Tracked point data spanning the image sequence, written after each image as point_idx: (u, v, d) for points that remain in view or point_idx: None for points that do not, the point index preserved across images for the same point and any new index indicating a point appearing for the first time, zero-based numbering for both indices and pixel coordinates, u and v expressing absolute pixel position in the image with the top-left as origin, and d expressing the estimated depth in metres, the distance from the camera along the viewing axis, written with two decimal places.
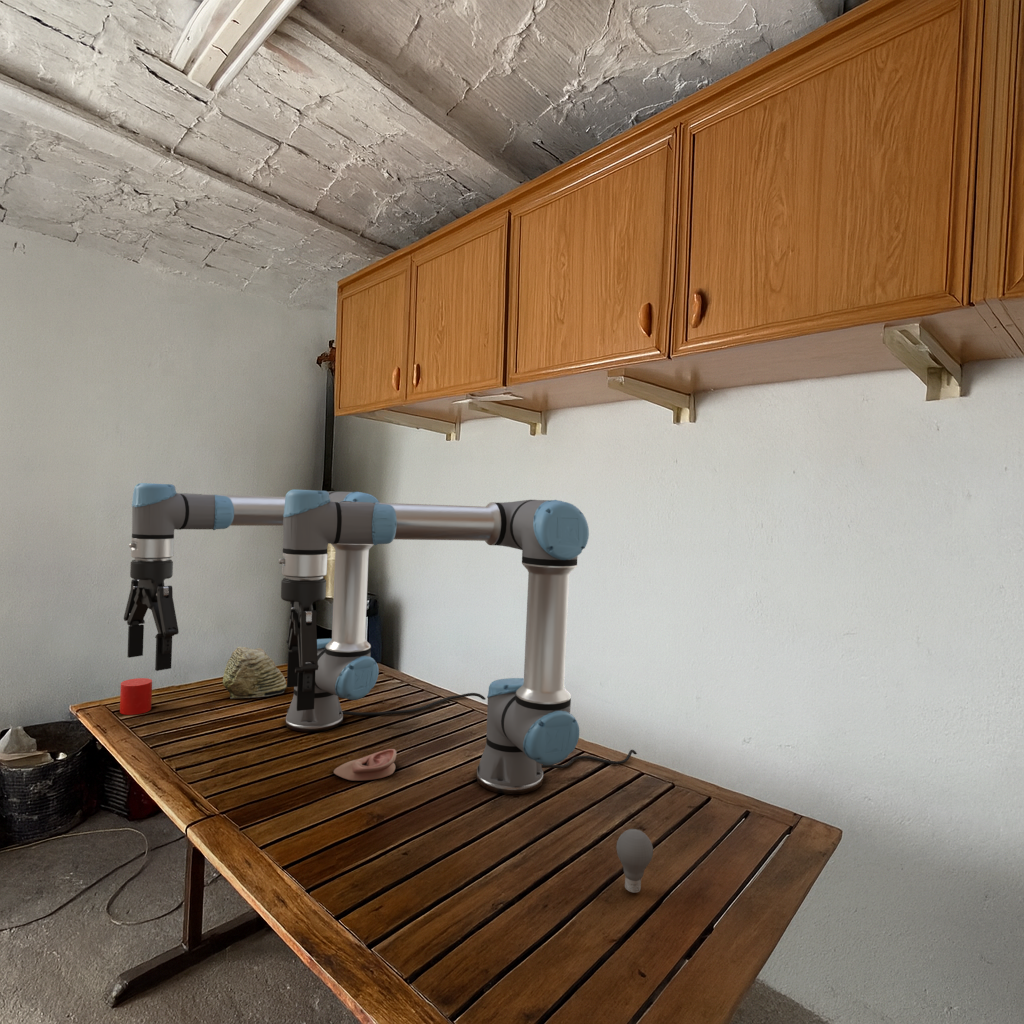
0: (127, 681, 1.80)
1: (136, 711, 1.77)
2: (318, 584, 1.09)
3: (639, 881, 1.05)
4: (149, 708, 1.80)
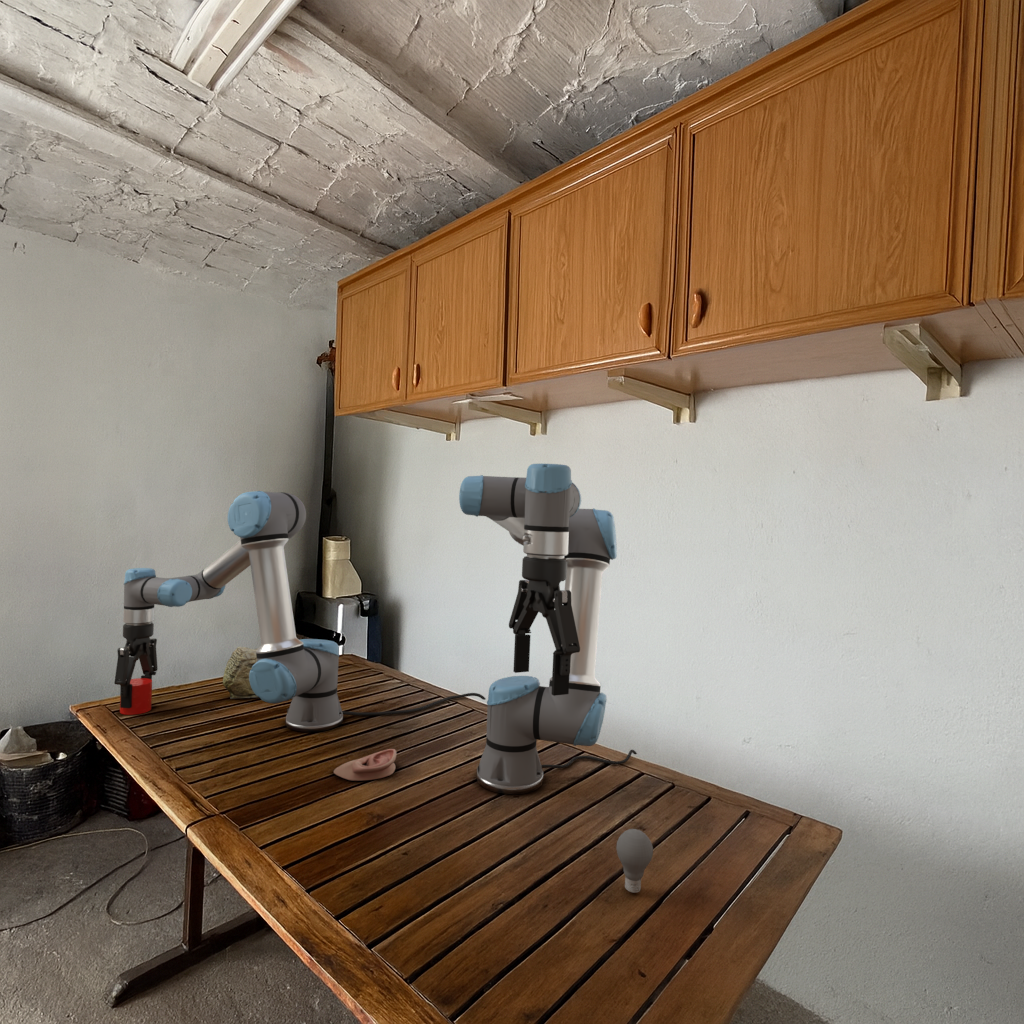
0: None
1: (136, 711, 1.77)
2: (564, 563, 1.04)
3: (639, 881, 1.05)
4: (149, 708, 1.80)
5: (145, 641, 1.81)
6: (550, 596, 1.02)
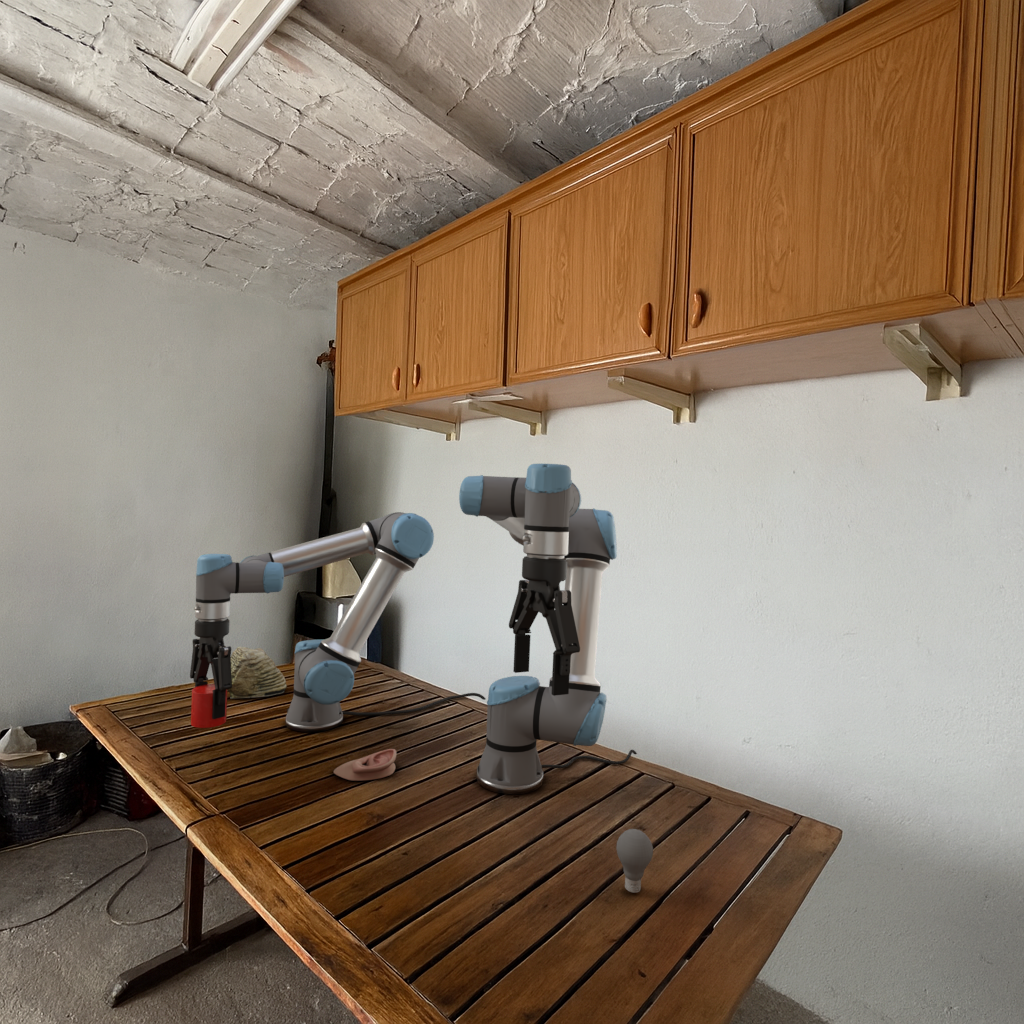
0: (199, 691, 1.50)
1: (224, 719, 1.52)
2: (564, 563, 1.04)
3: (639, 881, 1.05)
4: None
5: None
6: (550, 596, 1.02)
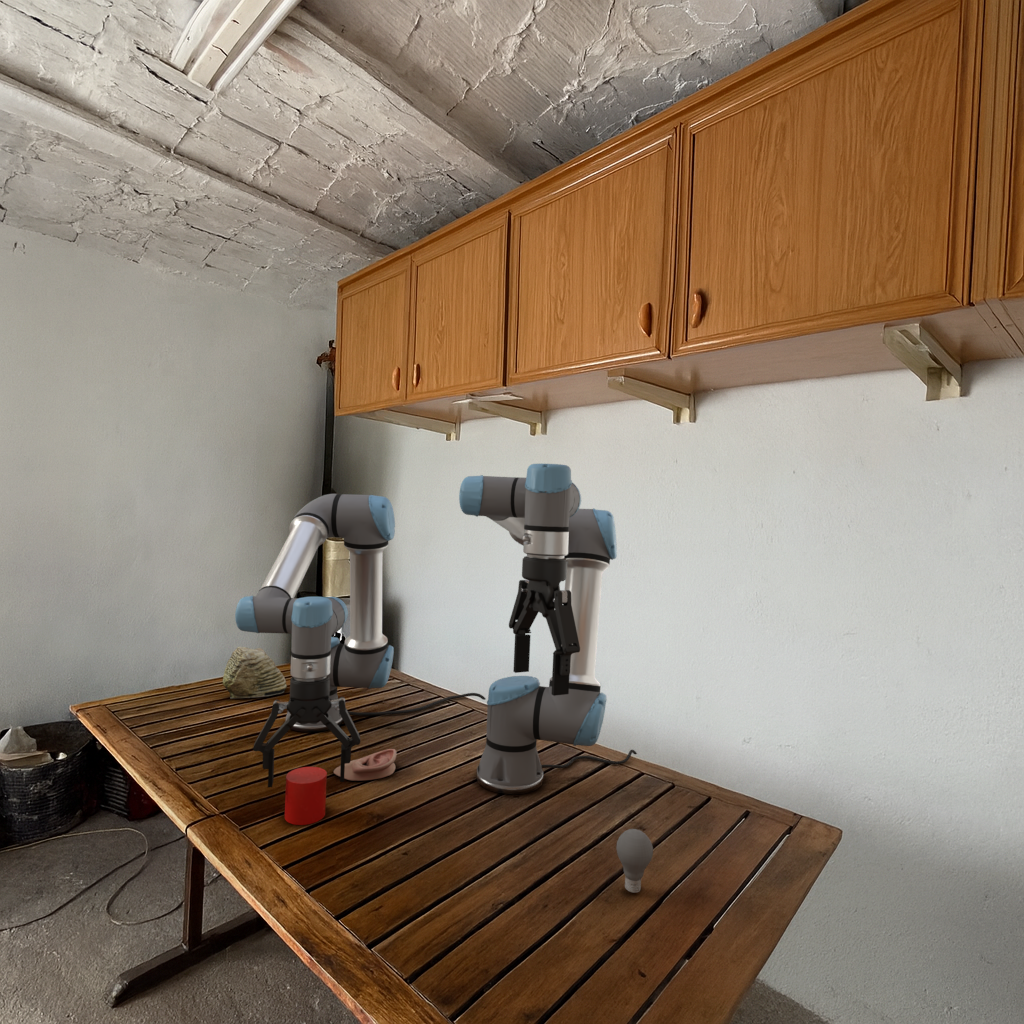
0: (306, 780, 1.23)
1: None
2: (564, 563, 1.04)
3: (639, 881, 1.05)
4: None
5: None
6: (550, 596, 1.02)
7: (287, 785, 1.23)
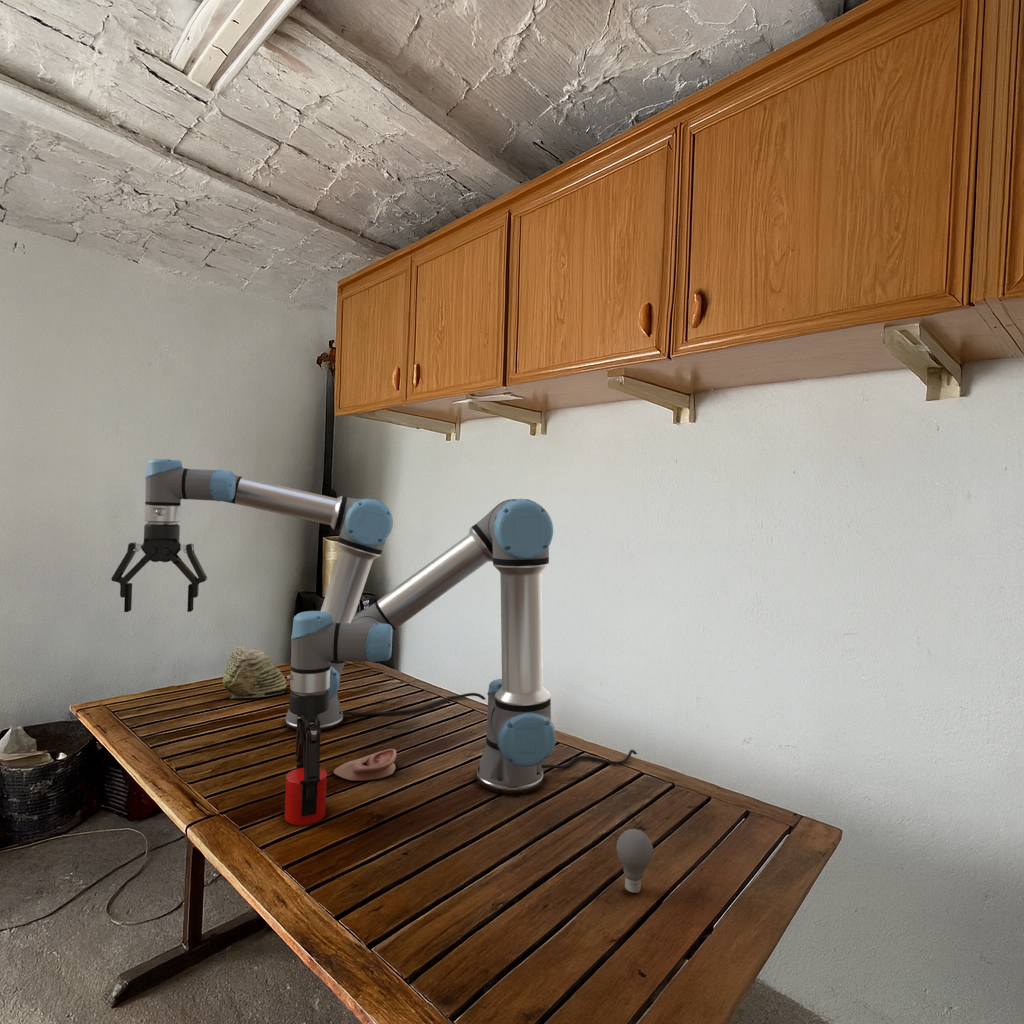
0: None
1: None
2: (322, 698, 1.23)
3: (639, 881, 1.05)
4: None
5: None
6: (306, 729, 1.22)
7: (287, 785, 1.23)
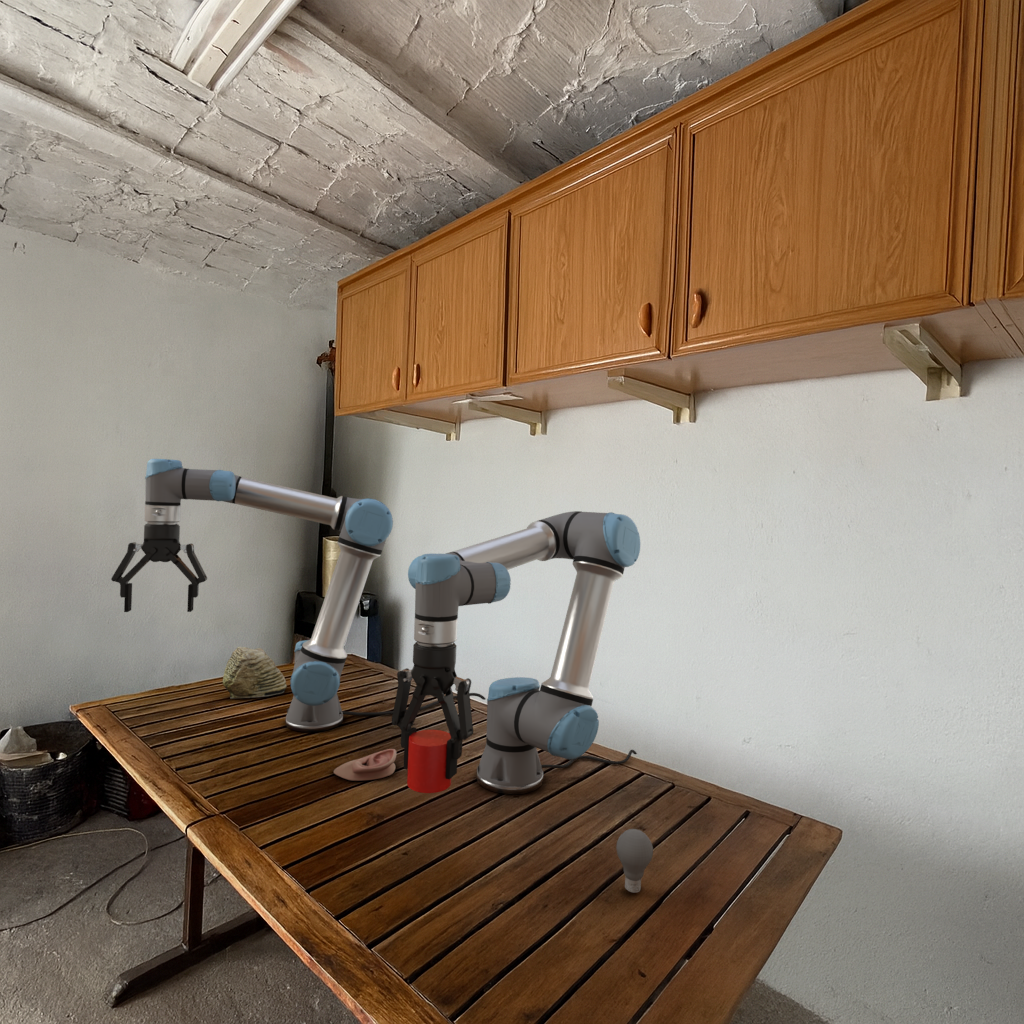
0: (443, 741, 1.10)
1: None
2: None
3: (639, 881, 1.05)
4: None
5: None
6: (450, 682, 1.09)
7: (425, 752, 1.08)
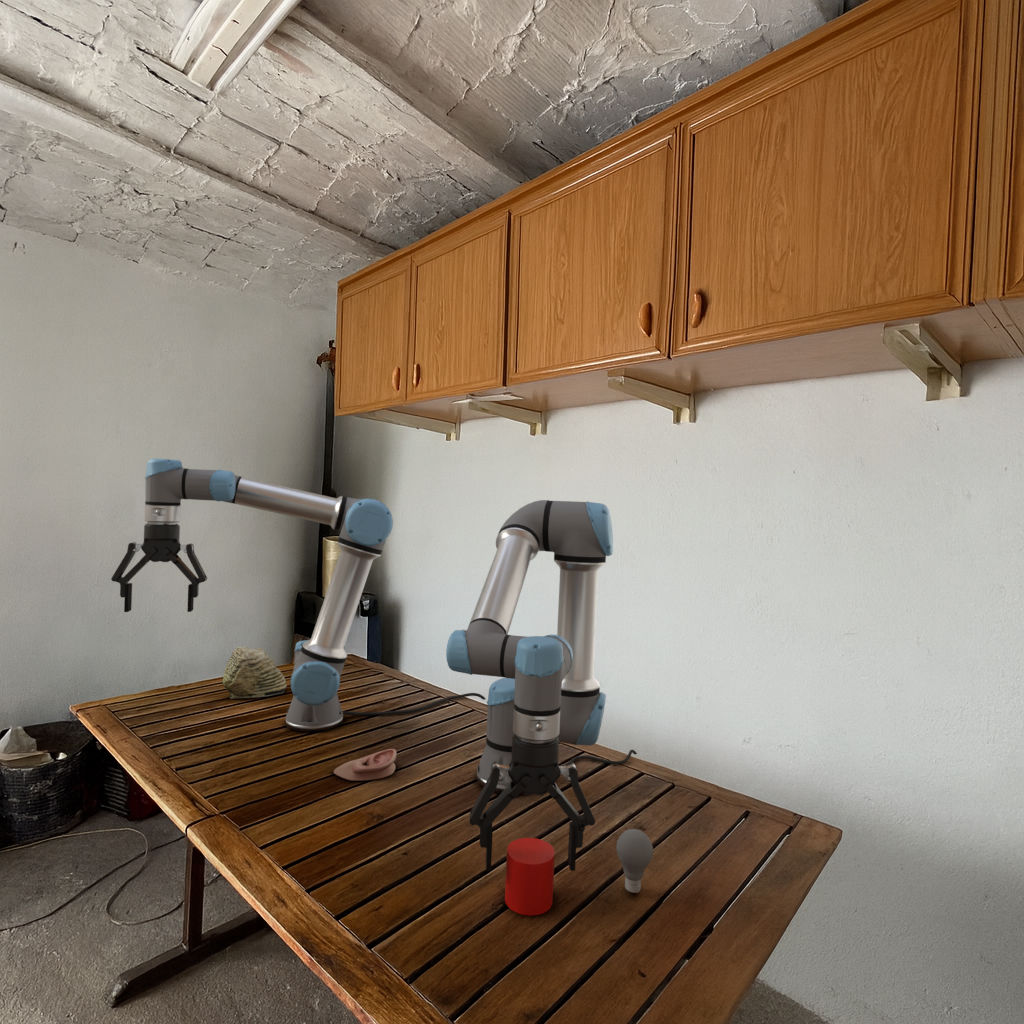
0: (547, 851, 1.02)
1: None
2: None
3: (639, 881, 1.05)
4: None
5: None
6: (559, 775, 1.01)
7: (539, 870, 0.99)
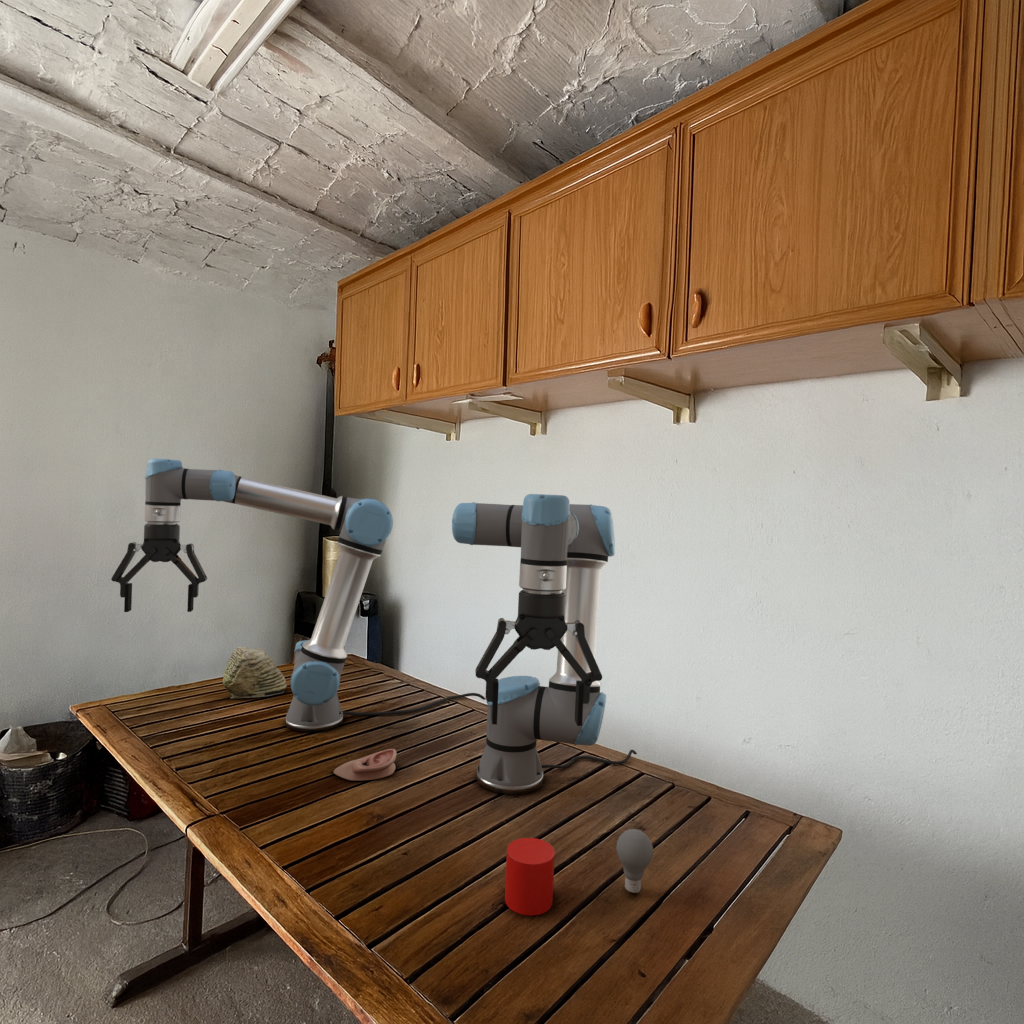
0: (547, 851, 1.02)
1: None
2: None
3: (639, 881, 1.05)
4: None
5: None
6: (566, 630, 1.01)
7: (539, 870, 0.99)
